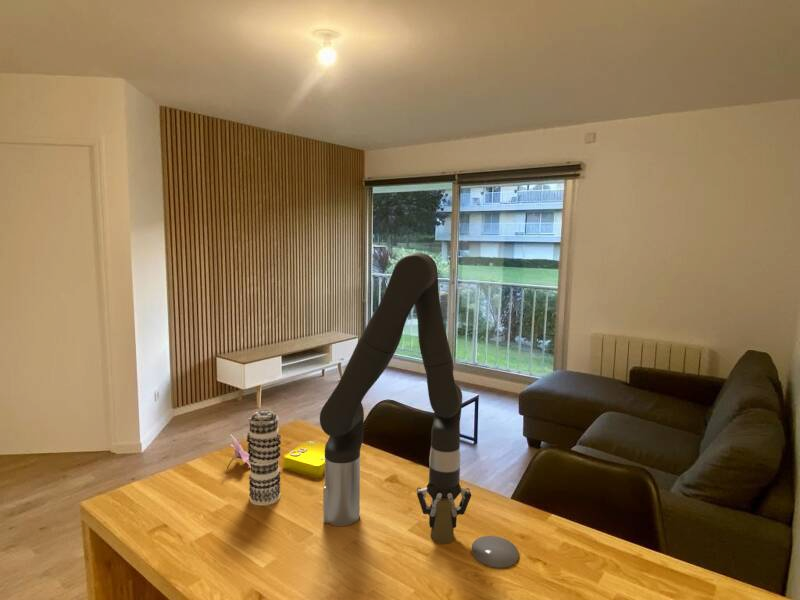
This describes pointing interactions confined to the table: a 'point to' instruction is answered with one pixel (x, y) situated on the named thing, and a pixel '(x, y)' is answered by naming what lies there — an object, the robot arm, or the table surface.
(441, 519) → the olive game pawn
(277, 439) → the decorative candle
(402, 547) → the table surface
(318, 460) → the element tile
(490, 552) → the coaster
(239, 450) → the lily
